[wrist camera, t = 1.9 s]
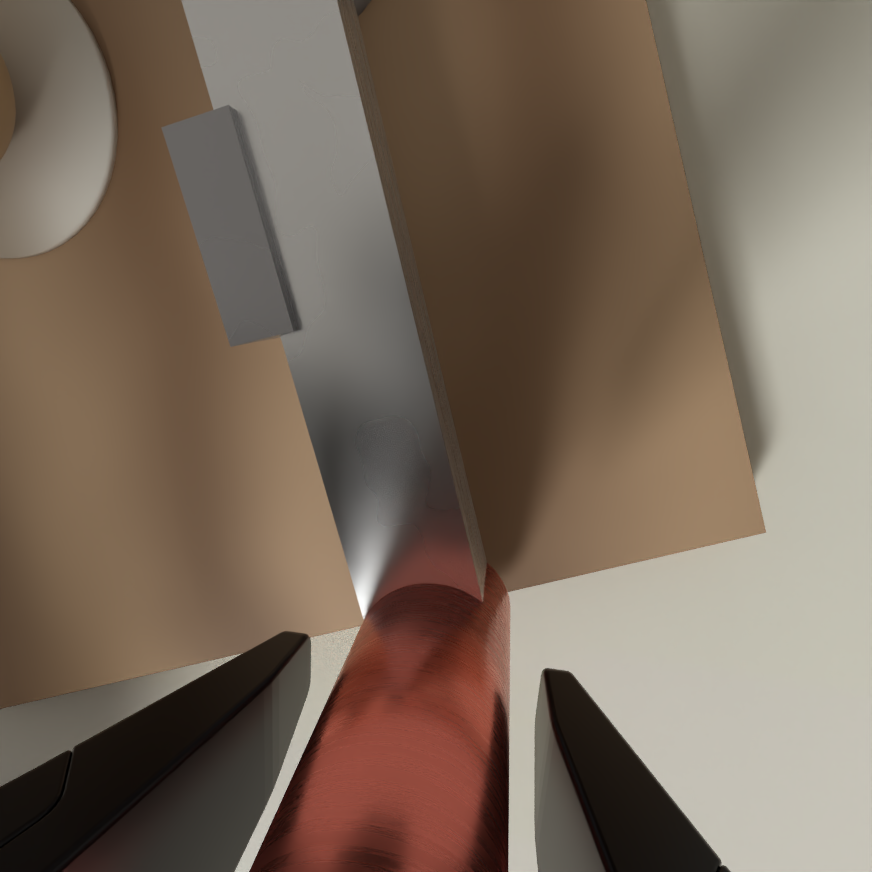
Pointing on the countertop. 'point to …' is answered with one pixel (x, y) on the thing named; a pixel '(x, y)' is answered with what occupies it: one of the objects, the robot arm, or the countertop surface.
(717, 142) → the countertop surface
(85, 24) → the cracker base
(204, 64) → the lever
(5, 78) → the walnut
